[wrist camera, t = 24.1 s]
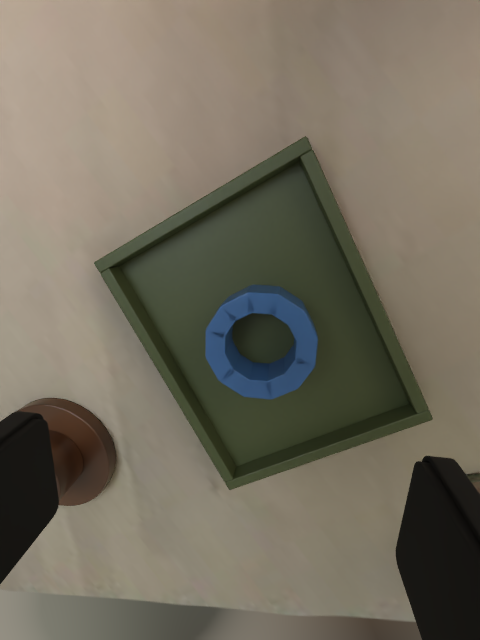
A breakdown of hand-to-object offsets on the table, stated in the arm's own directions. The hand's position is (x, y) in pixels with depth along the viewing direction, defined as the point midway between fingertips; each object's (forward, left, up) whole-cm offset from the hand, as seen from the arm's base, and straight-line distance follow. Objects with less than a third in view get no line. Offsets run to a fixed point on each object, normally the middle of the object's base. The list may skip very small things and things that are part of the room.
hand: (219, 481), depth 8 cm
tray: (+1, 0, -16) cm, 16 cm away
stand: (+3, -21, -16) cm, 27 cm away
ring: (+1, 0, -16) cm, 16 cm away
